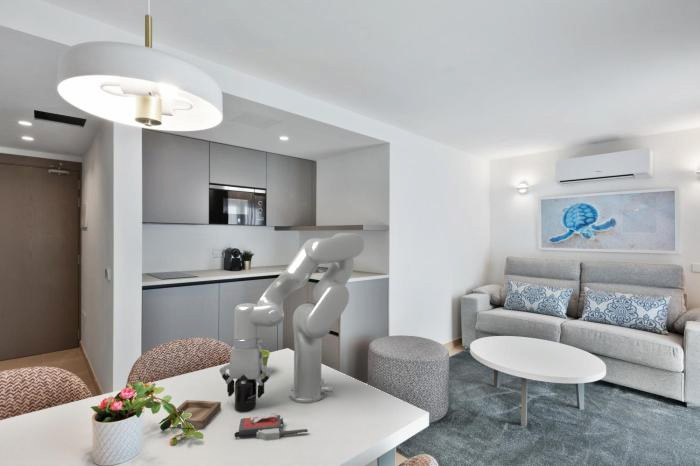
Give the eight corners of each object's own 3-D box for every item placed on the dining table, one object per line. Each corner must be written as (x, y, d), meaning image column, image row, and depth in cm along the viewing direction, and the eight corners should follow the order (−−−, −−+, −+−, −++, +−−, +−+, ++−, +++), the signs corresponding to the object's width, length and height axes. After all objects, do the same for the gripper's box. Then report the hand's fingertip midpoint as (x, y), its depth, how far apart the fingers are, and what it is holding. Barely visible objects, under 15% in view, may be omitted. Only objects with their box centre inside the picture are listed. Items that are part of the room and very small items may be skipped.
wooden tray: (220, 409, 112) (220, 401, 112) (202, 429, 101) (202, 420, 101) (186, 407, 113) (186, 399, 113) (164, 427, 102) (164, 418, 102)
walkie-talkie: (233, 445, 94) (308, 437, 98) (233, 429, 94) (308, 421, 98) (236, 427, 103) (305, 420, 107) (237, 412, 103) (305, 406, 107)
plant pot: (266, 380, 135) (266, 358, 135) (241, 380, 135) (242, 357, 135) (272, 371, 144) (272, 349, 144) (249, 370, 144) (249, 349, 144)
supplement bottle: (252, 413, 110) (253, 375, 110) (231, 412, 111) (231, 374, 111) (259, 402, 117) (259, 366, 117) (238, 402, 117) (239, 366, 117)
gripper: (275, 340, 117) (275, 391, 117) (225, 338, 118) (225, 388, 118) (268, 347, 109) (268, 402, 109) (215, 345, 111) (214, 399, 111)
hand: (245, 395), depth 114 cm, fingers open, 9 cm apart
